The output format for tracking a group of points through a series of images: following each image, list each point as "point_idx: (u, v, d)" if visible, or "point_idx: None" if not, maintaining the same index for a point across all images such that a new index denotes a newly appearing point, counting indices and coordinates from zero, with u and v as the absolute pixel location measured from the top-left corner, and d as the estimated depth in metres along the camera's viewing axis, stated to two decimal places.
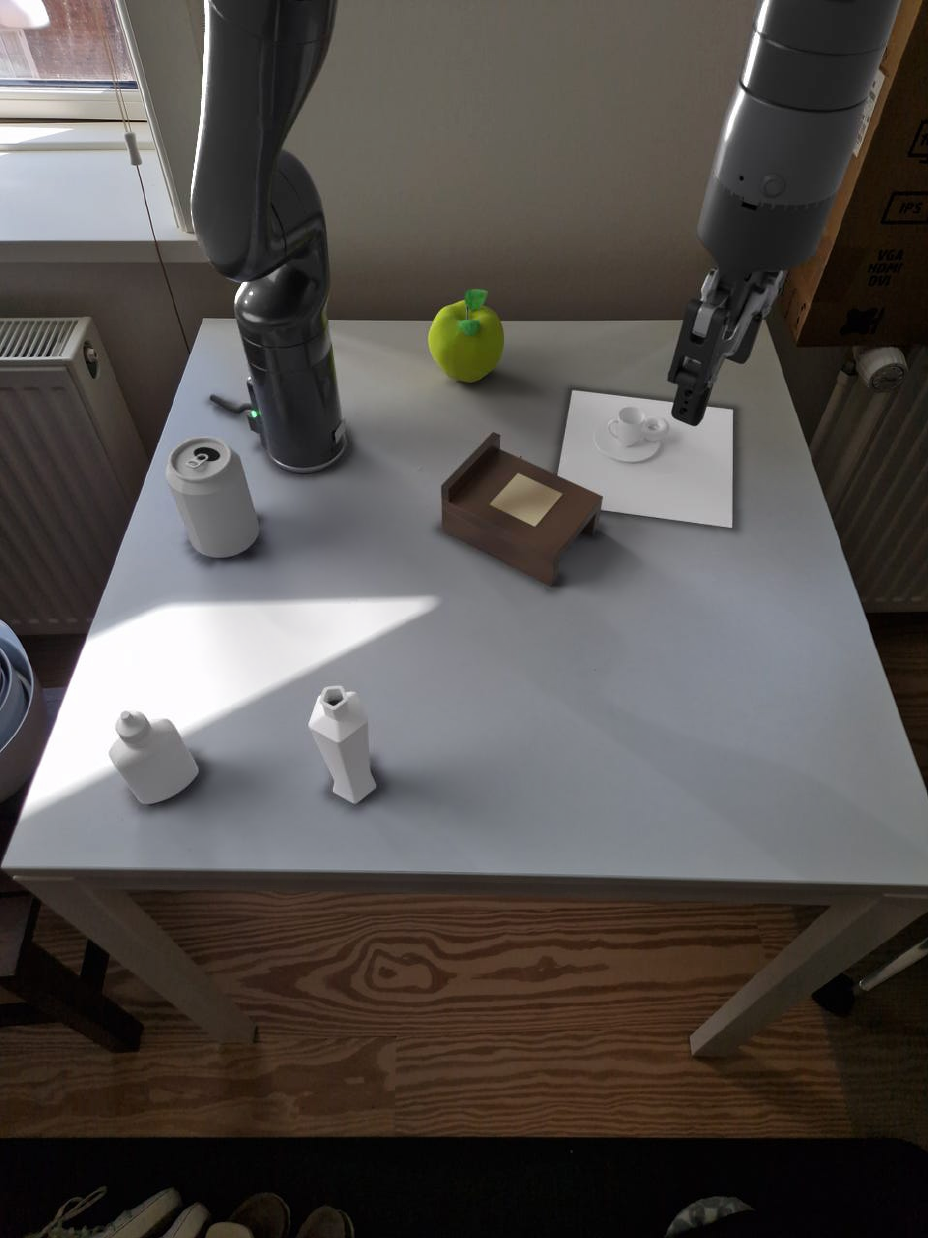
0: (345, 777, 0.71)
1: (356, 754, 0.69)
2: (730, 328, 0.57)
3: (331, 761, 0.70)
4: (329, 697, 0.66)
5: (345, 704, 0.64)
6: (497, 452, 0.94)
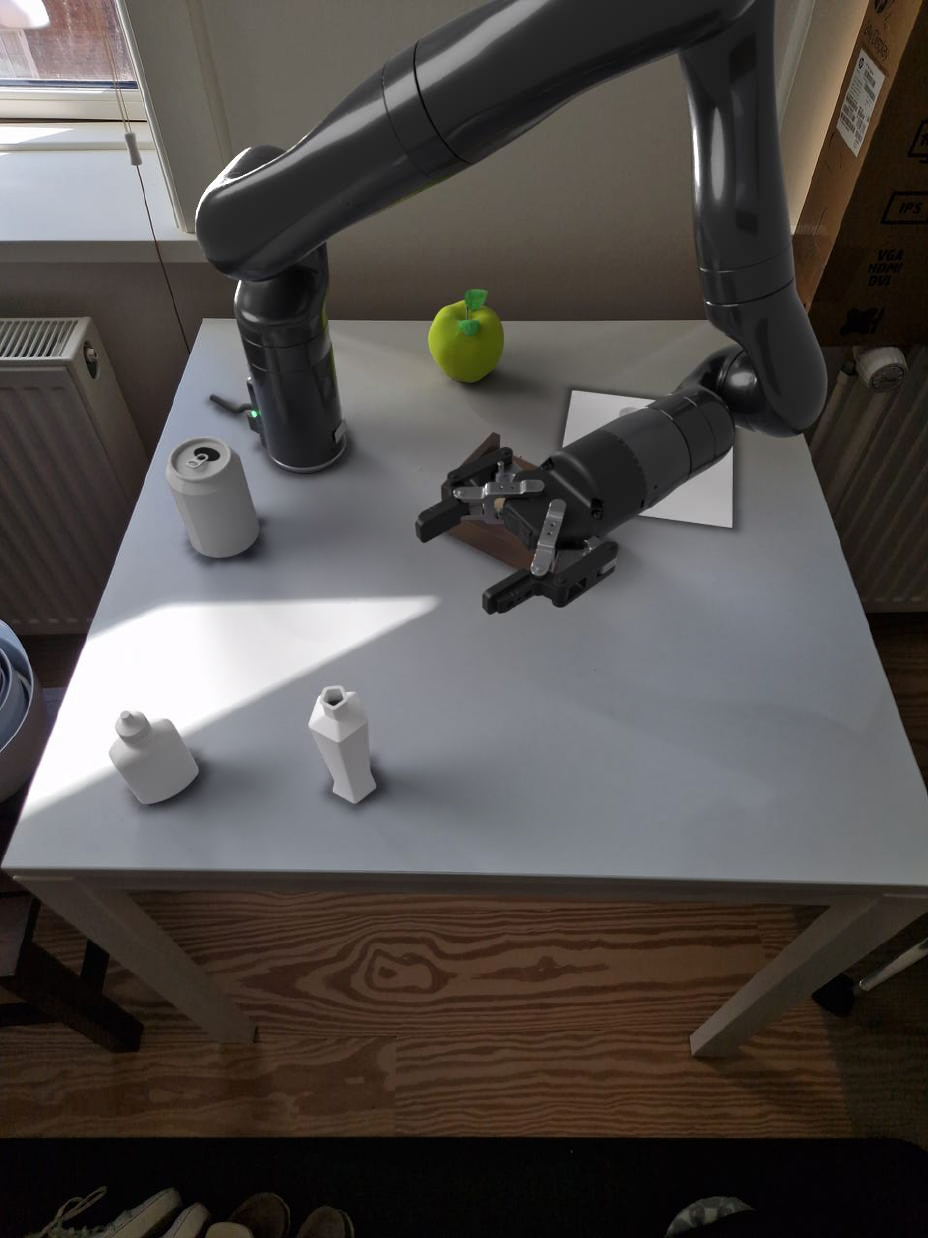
0: (345, 777, 0.71)
1: (356, 754, 0.69)
2: None
3: (331, 761, 0.70)
4: (329, 697, 0.66)
5: (345, 704, 0.64)
6: None
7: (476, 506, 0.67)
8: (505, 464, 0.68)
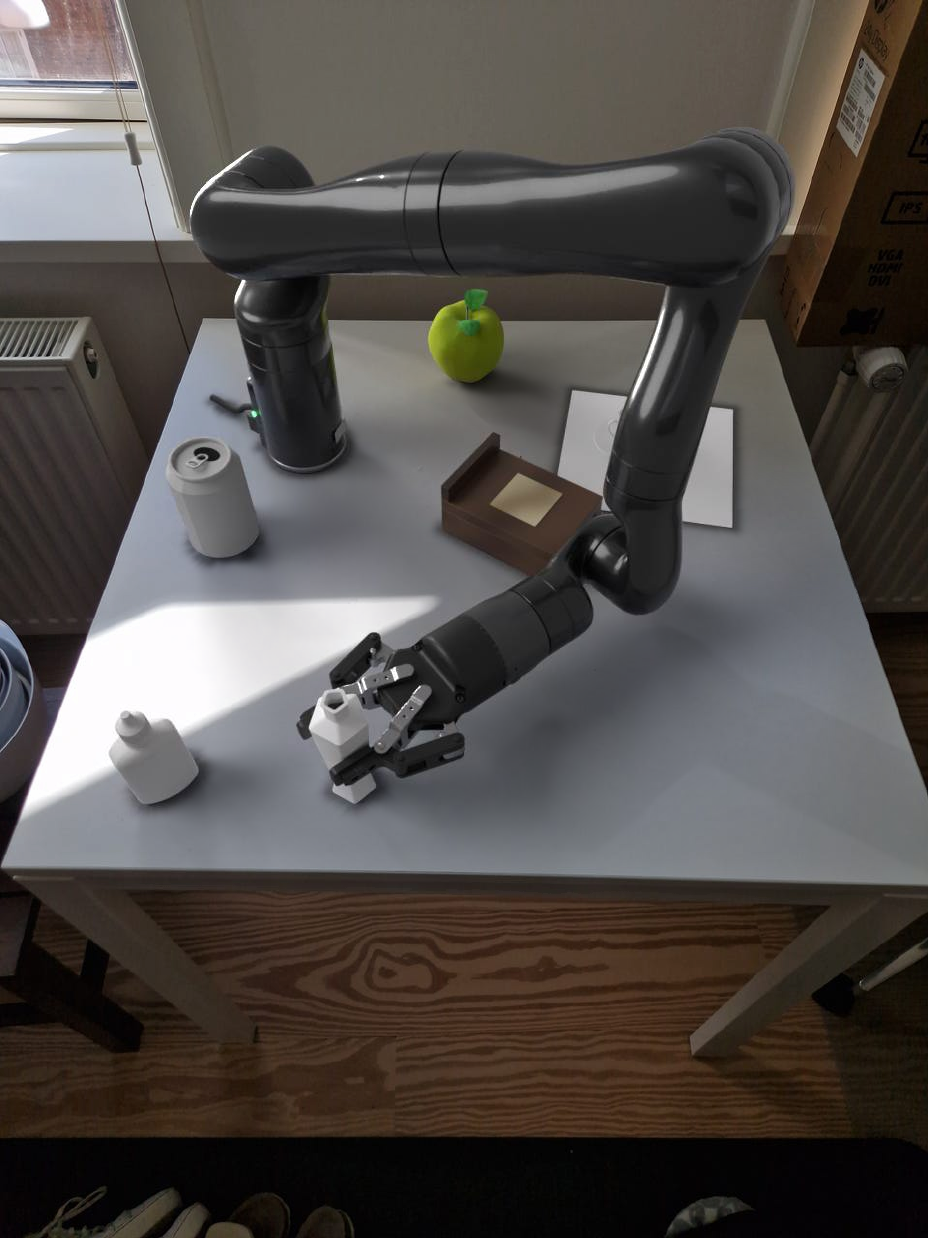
0: None
1: None
2: (413, 730, 0.71)
3: (331, 763, 0.70)
4: (330, 700, 0.65)
5: (346, 707, 0.64)
6: (497, 452, 0.94)
7: None
8: (376, 648, 0.74)
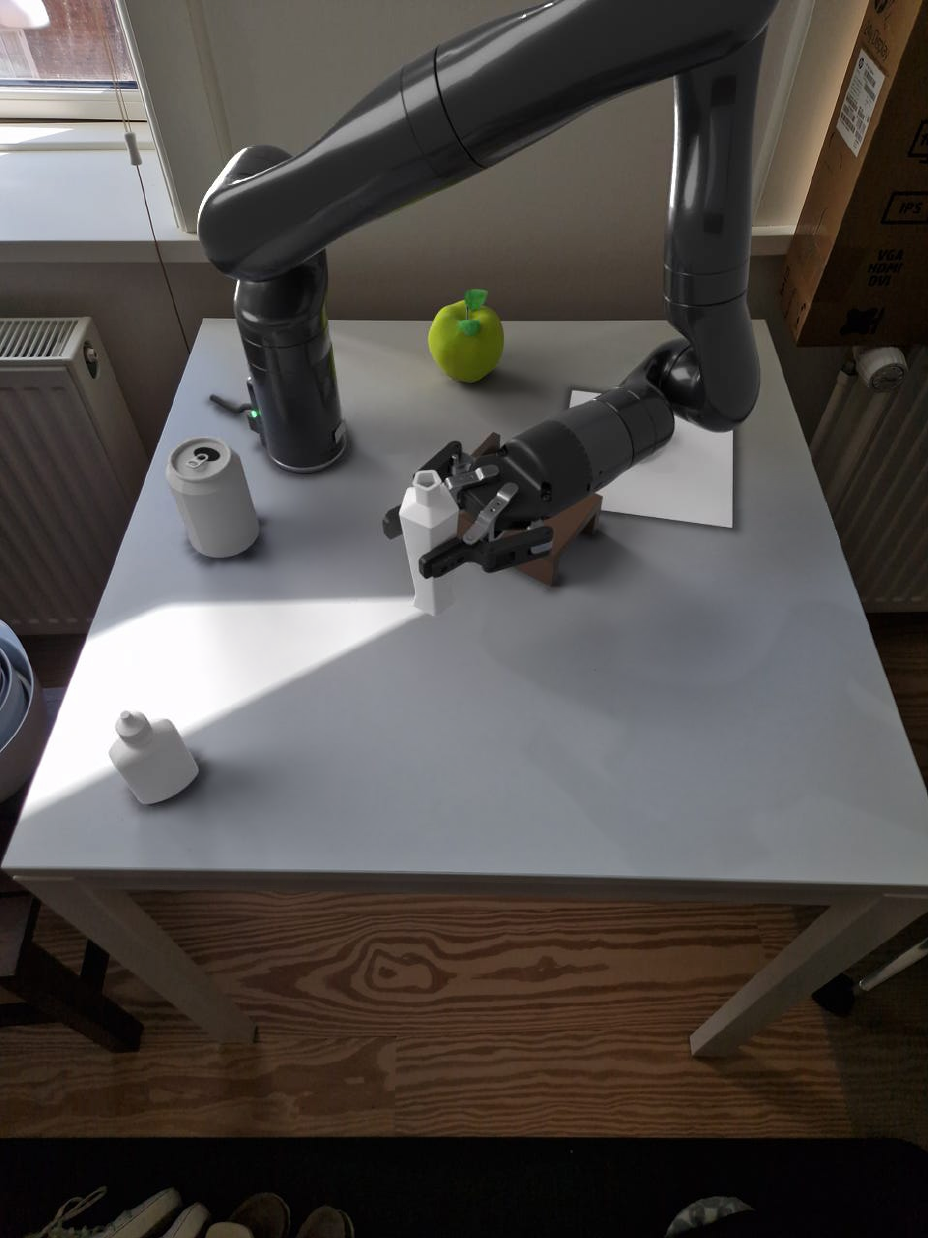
0: (429, 581, 0.71)
1: None
2: (499, 530, 0.70)
3: (417, 561, 0.69)
4: (420, 484, 0.65)
5: (438, 488, 0.64)
6: None
7: None
8: (457, 456, 0.73)
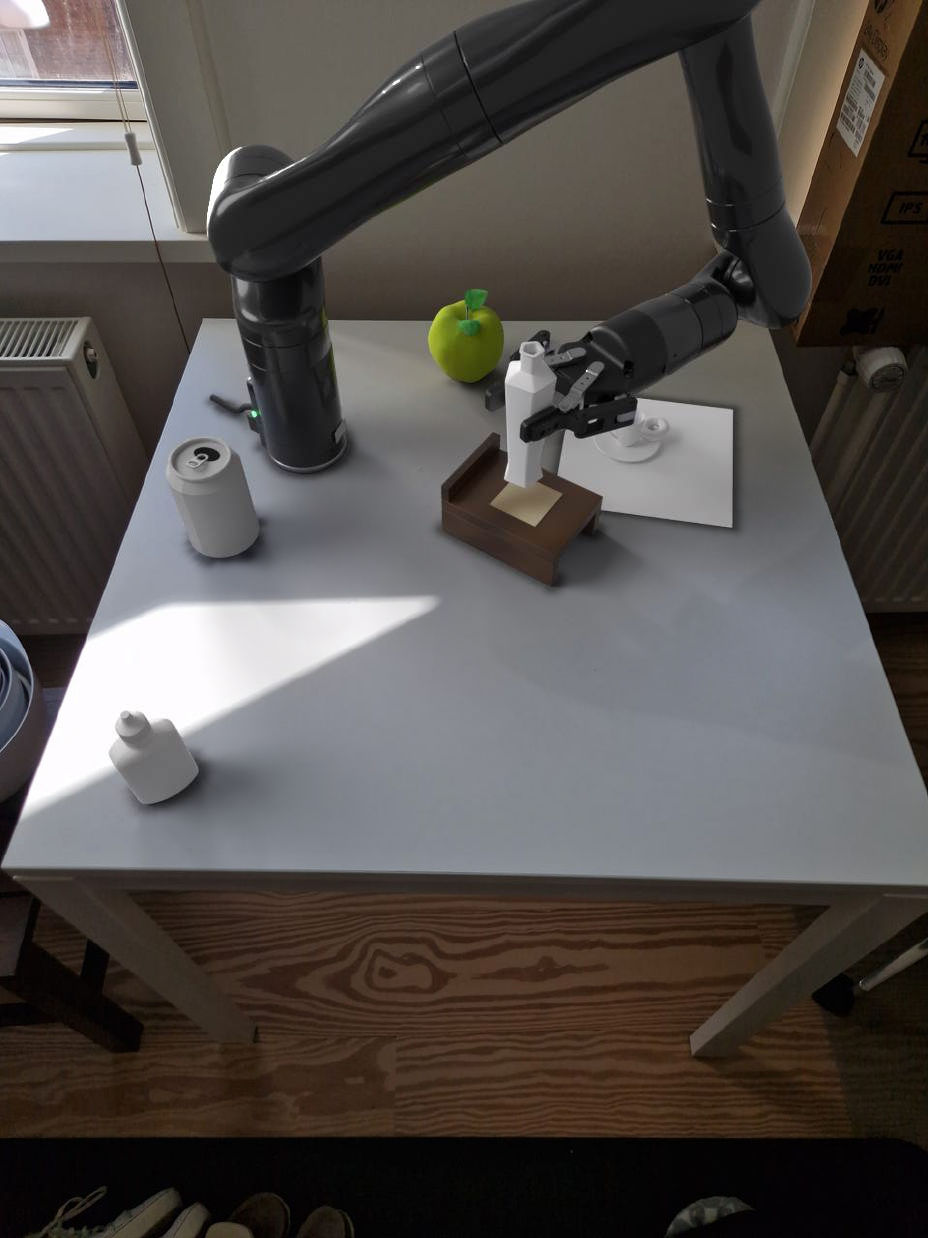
0: (524, 451, 0.80)
1: None
2: (587, 404, 0.79)
3: (515, 431, 0.79)
4: None
5: (541, 356, 0.73)
6: (497, 452, 0.94)
7: None
8: None
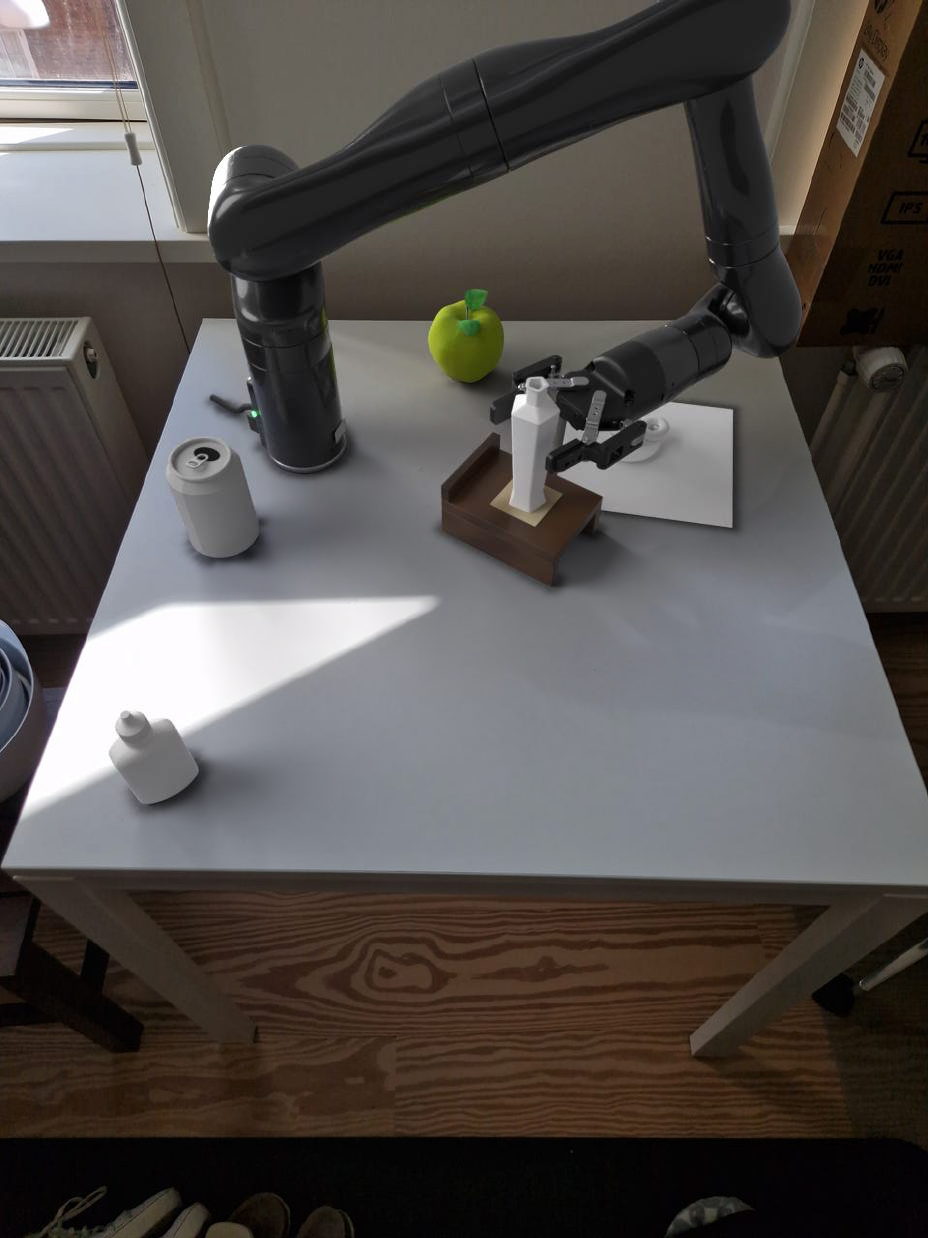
0: (529, 478, 0.85)
1: (544, 449, 0.82)
2: None
3: (521, 459, 0.83)
4: None
5: (546, 390, 0.78)
6: (497, 452, 0.94)
7: None
8: (556, 368, 0.87)
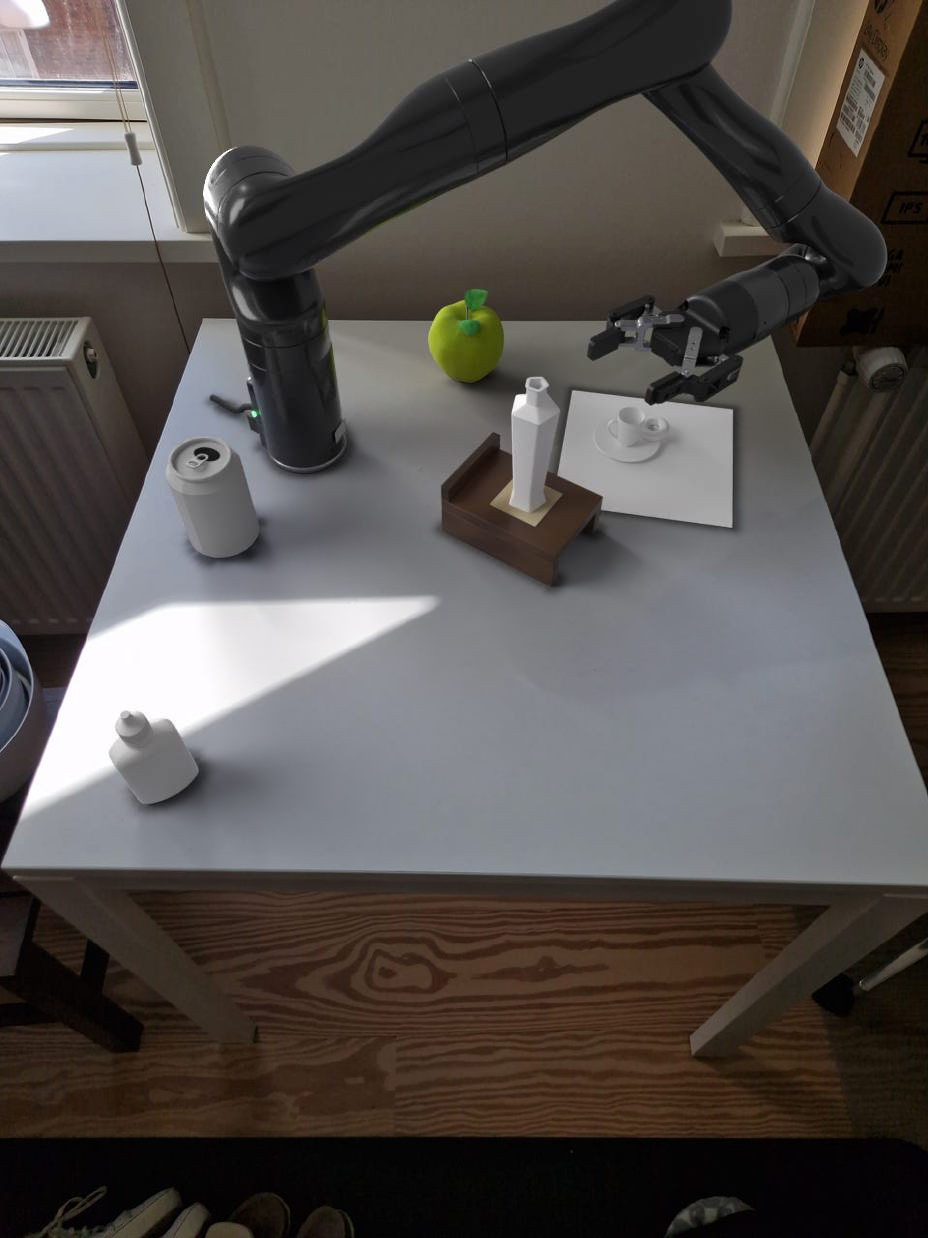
0: (529, 478, 0.85)
1: (543, 449, 0.82)
2: None
3: (521, 459, 0.83)
4: None
5: (546, 390, 0.78)
6: (497, 452, 0.94)
7: (628, 337, 0.89)
8: (649, 307, 0.90)
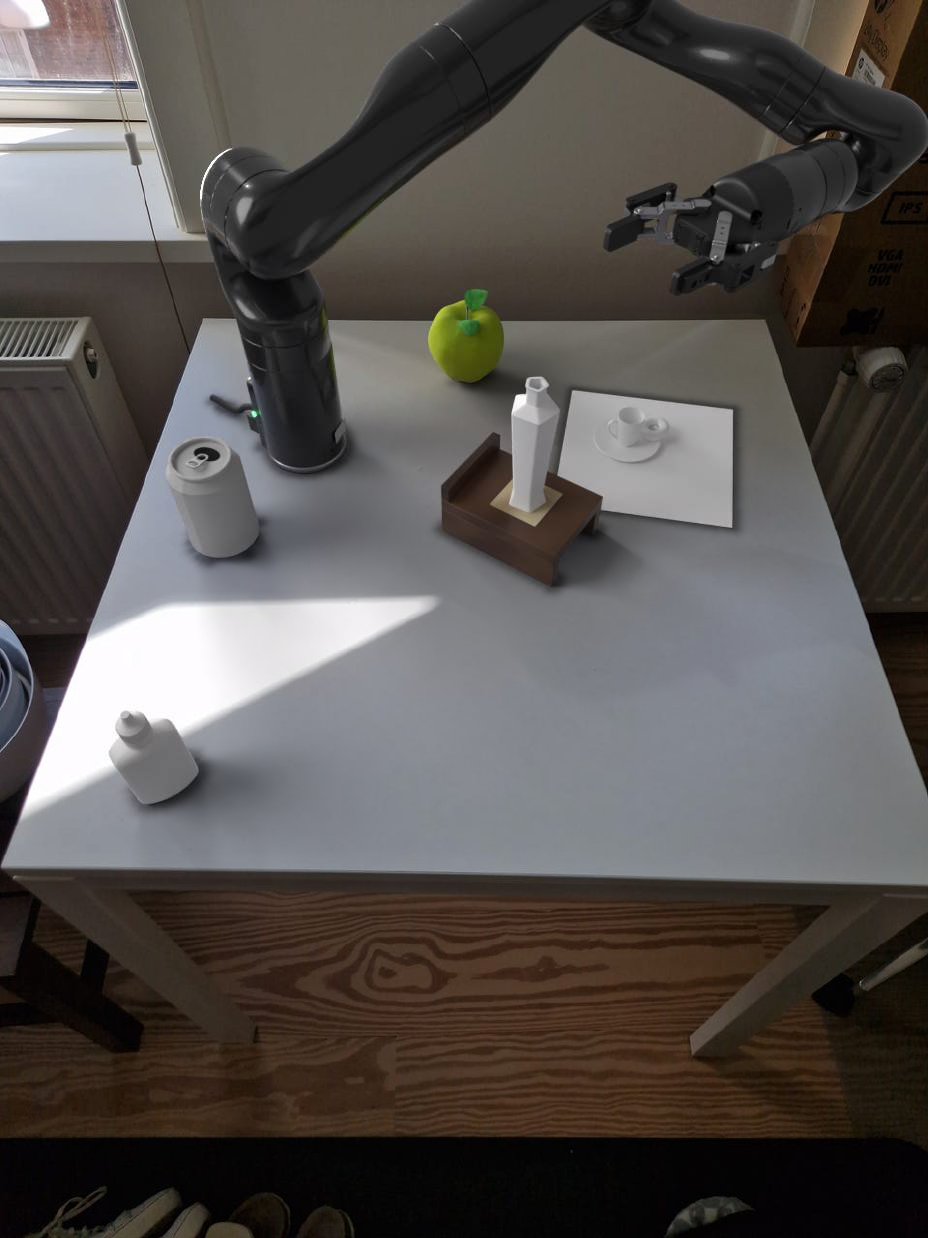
0: (529, 478, 0.85)
1: (543, 449, 0.82)
2: None
3: (521, 459, 0.83)
4: None
5: (546, 390, 0.78)
6: (497, 452, 0.94)
7: (648, 228, 0.80)
8: (670, 196, 0.81)
